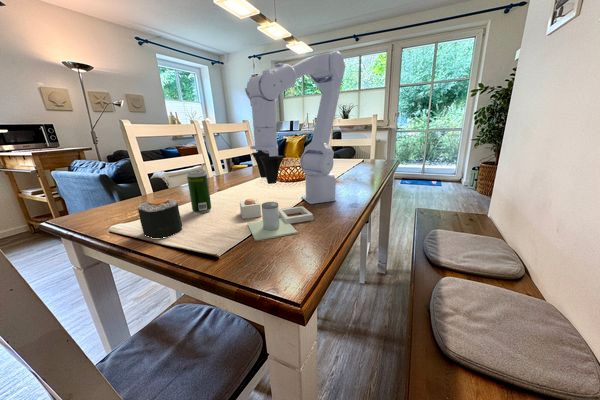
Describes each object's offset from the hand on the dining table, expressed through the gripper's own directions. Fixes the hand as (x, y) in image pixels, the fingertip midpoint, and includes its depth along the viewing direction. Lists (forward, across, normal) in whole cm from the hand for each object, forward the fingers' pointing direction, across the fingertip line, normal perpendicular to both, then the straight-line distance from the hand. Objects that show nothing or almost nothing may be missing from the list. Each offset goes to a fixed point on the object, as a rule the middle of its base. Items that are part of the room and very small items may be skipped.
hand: (268, 180), depth 66 cm
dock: (+10, +4, +6) cm, 12 cm away
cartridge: (+10, +9, -2) cm, 13 cm away
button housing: (+10, -3, -5) cm, 12 cm away
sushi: (+10, -1, -27) cm, 29 cm away
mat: (+10, +9, -2) cm, 14 cm away
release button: (+9, -3, -5) cm, 10 cm away
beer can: (+10, -12, -18) cm, 24 cm away
